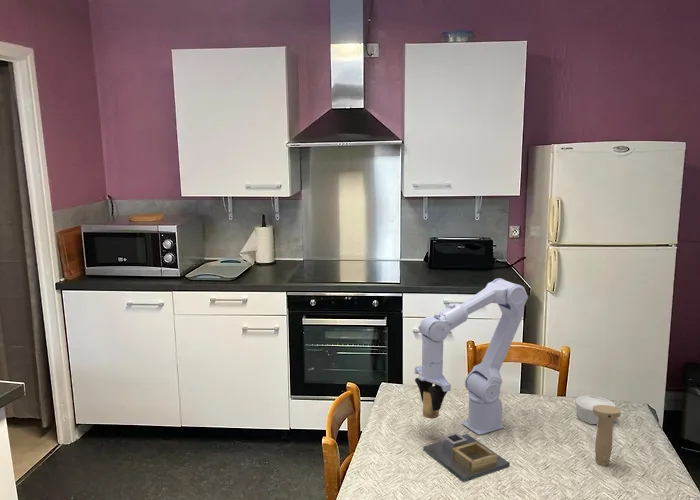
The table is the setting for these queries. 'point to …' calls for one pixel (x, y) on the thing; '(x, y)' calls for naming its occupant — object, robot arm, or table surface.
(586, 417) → the ramekin
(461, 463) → the fitting plate
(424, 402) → the cylindrical peg
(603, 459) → the handle
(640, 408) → the table surface
